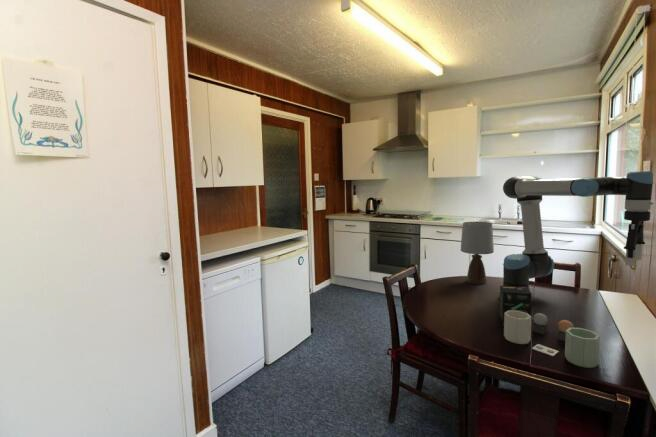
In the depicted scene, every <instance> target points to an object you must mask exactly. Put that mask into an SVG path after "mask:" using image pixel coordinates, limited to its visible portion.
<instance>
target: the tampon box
mask: <svg viewBox="0 0 656 437" xmlns="http://www.w3.org/2000/svg"><path fill="white" fill-rule="evenodd" d="M530 292H531V290H530V291H529V290H528V289H527V287H511V286H503V285H500V287H499V293H500V298H499V316H500V318H501V321H502V324H503V325H504V313H505V312H507V311H508V310H513V311H521V312H525V313H528V314H529V315H530V316H531V317H532V303H531V294H532V292H531V293H530Z"/></svg>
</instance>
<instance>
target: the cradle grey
mask: <svg viewBox="0 0 656 437" xmlns="http://www.w3.org/2000/svg"><path fill="white" fill-rule="evenodd" d="M532 332H535V333H537V334H539V335H545V334H546V333H547V332H548V324H546V325H544V326H539V325H537V324H536V323H535V322H534V323H533V324H532Z"/></svg>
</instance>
